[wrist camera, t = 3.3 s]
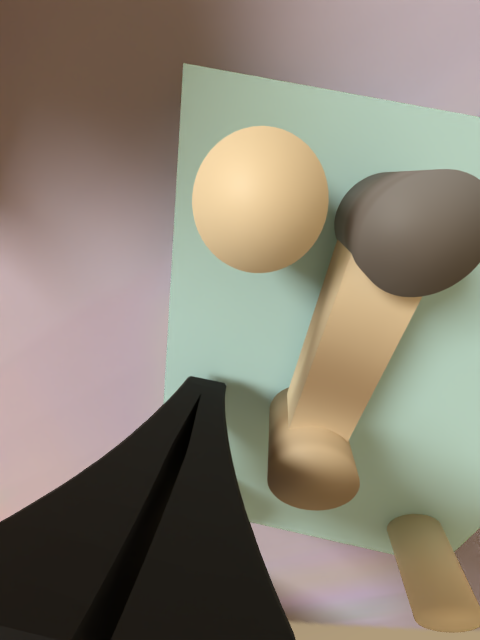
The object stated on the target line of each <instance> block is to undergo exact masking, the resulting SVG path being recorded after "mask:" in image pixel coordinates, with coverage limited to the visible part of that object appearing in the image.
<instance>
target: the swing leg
mask: <svg viewBox="0 0 480 640" xmlns="http://www.w3.org/2000/svg"><path fill="white" fill-rule="evenodd" d="M334 230H335V236H336V239H337V242H336V245H335V248H334V251H333V254H332V257H331V261H330V264H329V267H328V270H327V273H326V276H325V279H324V282H323V285H322V288H321V291H320V294H319V297H318V300H317V303H316V307H315V310H314V313H313V316H312V319H311V322H310V325H309V328H308V331H307V334H306V337H305V340H304V343H303V346H302V349H301V353H300V356H299V359H298V362H297V365H296V368H295V371H294V374H293V377H292V380H291V383H290V386H289V387H288V388H286V389H284V390H282V391H281V392H279V393H278V394H277V395H276V396H275V397H274V398H273V400H272V402H271V404H270V413H269V442H268V472H267V483H268V486H269V489H270V490H271V492H272V493H273V494H274V496H276V497H277V498H278V499H279V500H281V501H282V502H284V503H286V504H288V505H290V506H293V507H296V508H299V509H304V510H315V511H319V510H329V509H333V508H337V507H340V506H342V505H344V504H346V503H348V502H349V501H350V500H352V499H353V498H354V497H355V495H356V494H357V492H358V490H359V487H360V480H359V476H358V472H357V468H356V465H355V461H354V457H353V454H352V450H351V446H350V443H349V439H350V437H351V435H352V433H353V431H354V429H355V427H356V425H357V423H358V421H359V419H360V417H361V415H362V413H363V411H364V409H365V407H366V406H367V404H368V402H369V400H370V398H371V396H372V394H373V392H374V390H375V388H376V386H377V384H378V382H379V380H380V378H381V376H382V374H383V372H384V370H385V369H386V367H387V365H388V363H389V361H390V359H391V357H392V355H393V353H394V351H395V349H396V347H397V345H398V343H399V341H400V339H401V337H402V335H403V333H404V332H405V330H406V328H407V326H408V324H409V322H410V320H411V318H412V316H413V314H414V312H415V310H416V308H417V306H418V304H419V302H420V300H421V298H422V296H427V295H431V294H435V293H438V292H440V291H443V290H445V289H447V288H449V287H451V286H453V285H455V284H456V283H458V282H459V281H461V280H462V279H463V278H465V277H466V276H467V275H468V274H470V273H471V272H472V271H473V270H474V269H475V268H476V267H477V265H478V264H479V263H480V180H479V179H478V178H476V177H475V176H473V175H471V174H469V173H467V172H463V171H459V170H453V169H435V170H416V171H398V172H382V173H377V174H374V175H371V176H368V177H366V178H364V179H363V180H361V181H359V182H358V183H357V184H355V185H354V186H353V187H352V188H351V189H350V190H349V191H348V192H347V193H346V195H345V196H344V197H343V199H342V200H341V202H340V204H339V206H338V209H337V211H336V215H335V221H334Z"/></svg>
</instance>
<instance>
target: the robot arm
mask: <svg viewBox="0 0 480 640" xmlns="http://www.w3.org/2000/svg"><path fill="white" fill-rule="evenodd" d="M225 392H226V385H225V383H222V382H218V381H213V380H208V379H203V378H199V377H194V376H190V377H188V378H187V379H186V380H185V381H184V383H183V384H182V385H181V386H180V387H179V388H178V390H177V391H176V392H175V393H174V394H173V395H172V396H171V397H170V398H169V399H168V400H167V401H166V402H165V403H164V404H163V405H162V406H161V407H160V408H159V409H158V410H157V411H156V412H155V413H154V414H153V415H152V416H151V417H150V418H149V419H148V420H147V421H146V422H144V423H143V424H142V425H141V426H140V427H139V428H138V429H137V430H135V431H134V432H133V433H132V434H131V435H130V436H128V437H127V438H126V439H125V440H124V441H122V442H121V443H120V444H119V445H117V446H116V447H115V448H114V449H112V450H111V451H110V452H108V453H107V454H106V455H104V456H103V457H102V458H100V459H99V460H98V461H96V462H95V463H93V464H92V465H90V466H89V467H88V468H86V469H85V470H83V471H82V472H81V473H79V474H78V475H76V476H75V477H73V478H72V479H70V480H69V481H67V482H66V483H64V484H63V485H61V486H60V487H58V488H56V489H55V490H53V491H51V492H50V493H48V494H46V495H45V496H43V497H42V498H40V499H38V500H37V501H35V502H33V503H32V504H30V505H28V506H27V507H25V508H23V509H22V510H20V511H19V512H17V513H15V514H13V515H12V516H10V517H8V518H6V519H5V520H3V521H1V522H0V640H295V637H294V633H293V631H292V628H291V626H290V624H289V621H288V619H287V617H286V615H285V612H284V610H283V608H282V605H281V603H280V601H279V598H278V596H277V593H276V591H275V589H274V586H273V584H272V581H271V579H270V576H269V574H268V571H267V569H266V566H265V564H264V561H263V558H262V556H261V553H260V550H259V548H258V545H257V542H256V539H255V536H254V533H253V530H252V527H251V524H250V522H249V519H248V516H247V513H246V510H245V506H244V503H243V499H242V496H241V493H240V489H239V485H238V481H237V478H236V474H235V469H234V465H233V460H232V455H231V450H230V445H229V439H228V432H227V424H226V414H225Z"/></svg>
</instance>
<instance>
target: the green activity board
mask: <svg viewBox="0 0 480 640" xmlns="http://www.w3.org/2000/svg"><path fill="white" fill-rule="evenodd" d="M435 169H453V170H459V171H463V172H467V173H469V174H471V175H473V176H475V177H476V178H478V179H479V180H480V117H476V116H471V115H466V114H460V113H455V112H449V111H444V110H438V109H433V108H427V107H422V106H416V105H411V104H405V103H400V102H394V101H389V100H383V99H378V98H372V97H367V96H361V95H356V94H350V93H345V92H339V91H334V90H329V89H323V88H318V87H312V86H307V85H301V84H296V83H290V82H285V81H279V80H274V79H268V78H263V77H257V76H252V75H246V74H241V73H235V72H230V71H224V70H219V69H213V68H208V67H203V66H197V65H192V64H186V63H183V77H182V94H181V112H180V129H179V146H178V164H177V181H176V198H175V216H174V233H173V250H172V268H171V285H170V302H169V320H168V337H167V354H166V372H165V389H164V403H165V402H166V401H167V400H168V399H169V398H170V397H171V396H172V395H173V394H174V393H175V392H176V391H177V390H178V388H179V387H180V386H181V385H182V384H183V383H184V381H185V380H186V379H187V378H188V377H190V376H194V377H199V378H203V379H208V380H213V381H218V382H222V383H225V385H226V392H225V414H226V424H227V432H228V439H229V445H230V450H231V455H232V460H233V465H234V469H235V474H236V478H237V481H238V485H239V489H240V493H241V496H242V499H243V503H244V506H245V510H246V513H247V516H248V519H249V522H252V523H256V524H261V525H265V526H270V527H274V528H278V529H283V530H287V531H292V532H296V533H300V534H305V535H309V536H314V537H318V538H322V539H327V540H331V541H336V542H340V543H344V544H349V545H353V546H358V547H362V548H366V549H371V550H375V551H379V552H384V553H388V554H393V555H395V558H396V561H397V564H398V568H399V571H400V574H401V577H402V580H403V584H404V587H405V590H406V593H407V596H408V600H409V603H410V606H411V609H412V613H413V616H414V619H415V621H416V622H417V623H418V624H419V625H420V626H422V627H424V628H427V629H430V630H434V631H439V632H465V631H470V630H474V629H476V628H478V627H480V606H479V604H478V602H477V600H476V598H475V596H474V593H473V591H472V589H471V587H470V585H469V583H468V581H467V579H466V576H465V574H464V572H463V570H462V568H461V566H460V564H459V562H458V560H457V557H456V555H455V553H454V552H455V551H456V550H457V549H458V548H459V547H460V546H461V545H462V544H463V543H464V542H465V541H466V540H467V539H468V538H469V537H471V536H472V535H473V534H474V533H475V532H476V531H477V530H478V529H479V528H480V263H479V264H478V265H477V267H476V268H475V269H474V270H473V271H472V272H471V273H470V274H468V275H467V276H466V277H465V278H463V279H462V280H461V281H459V282H458V283H456V284H455V285H453V286H451V287H449V288H447V289H445V290H443V291H440V292H438V293H435V294H431V295H427V296H422V298H421V300H420V302H419V304H418V306H417V308H416V310H415V312H414V314H413V316H412V318H411V320H410V322H409V324H408V326H407V328H406V330H405V332H404V333H403V335H402V337H401V339H400V341H399V343H398V345H397V347H396V349H395V351H394V353H393V355H392V357H391V359H390V361H389V363H388V365H387V367H386V369H385V370H384V372H383V374H382V376H381V378H380V380H379V382H378V384H377V386H376V388H375V390H374V392H373V394H372V396H371V398H370V400H369V402H368V404H367V406H366V407H365V409H364V411H363V413H362V415H361V417H360V419H359V421H358V423H357V425H356V427H355V429H354V431H353V433H352V435H351V437H350V439H349V443H350V446H351V450H352V454H353V457H354V461H355V465H356V468H357V472H358V476H359V480H360V487H359V490H358V492H357V494H356V495H355V497H354V498H353V499H352V500H350V501H349V502H348V503H346V504H344V505H342V506H340V507H337V508H333V509H329V510H319V511H315V510H304V509H299V508H296V507H293V506H290V505H288V504H286V503H284V502H282V501H281V500H279V499H278V498H277V497H276V496H274V494H273V493H272V492H271V490H270V489H269V486H268V483H267V472H268V442H269V413H270V404H271V402H272V400H273V398H274V397H275V396H276V395H277V394H278V393H279V392H281V391H282V390H284V389H286V388H288V387H289V386H290V383H291V380H292V377H293V374H294V371H295V368H296V365H297V362H298V359H299V356H300V353H301V349H302V346H303V343H304V340H305V337H306V334H307V331H308V328H309V325H310V322H311V319H312V316H313V313H314V310H315V307H316V303H317V300H318V297H319V294H320V291H321V288H322V285H323V282H324V279H325V276H326V273H327V270H328V267H329V264H330V261H331V257H332V254H333V251H334V248H335V245H336V242H337V239H336V236H335V230H334V221H335V215H336V211H337V209H338V206H339V204H340V202H341V200H342V199H343V197H344V196H345V195H346V193H347V192H348V191H349V190H350V189H351V188H352V187H353V186H354V185H355V184H357V183H358V182H359V181H361V180H363V179H364V178H366V177H368V176H371V175H374V174H377V173H382V172H398V171H416V170H435Z"/></svg>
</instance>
